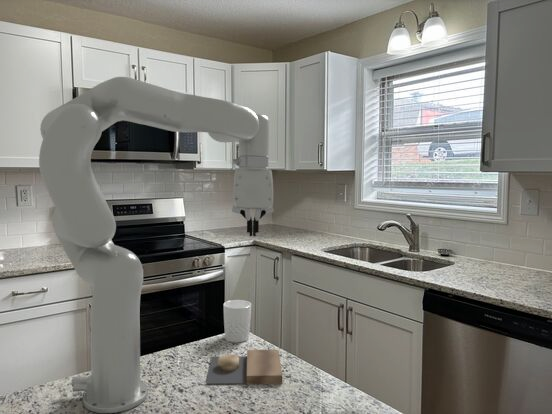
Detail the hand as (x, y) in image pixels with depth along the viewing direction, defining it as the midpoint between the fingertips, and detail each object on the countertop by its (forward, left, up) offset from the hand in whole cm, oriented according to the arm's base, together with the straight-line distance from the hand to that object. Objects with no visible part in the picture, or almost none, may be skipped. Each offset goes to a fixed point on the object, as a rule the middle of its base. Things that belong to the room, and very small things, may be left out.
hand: (252, 235), depth 111 cm
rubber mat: (-6, -10, -31) cm, 33 cm away
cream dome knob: (-5, -9, -31) cm, 33 cm away
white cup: (-4, +10, -31) cm, 33 cm away
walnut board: (+3, -10, -31) cm, 33 cm away
